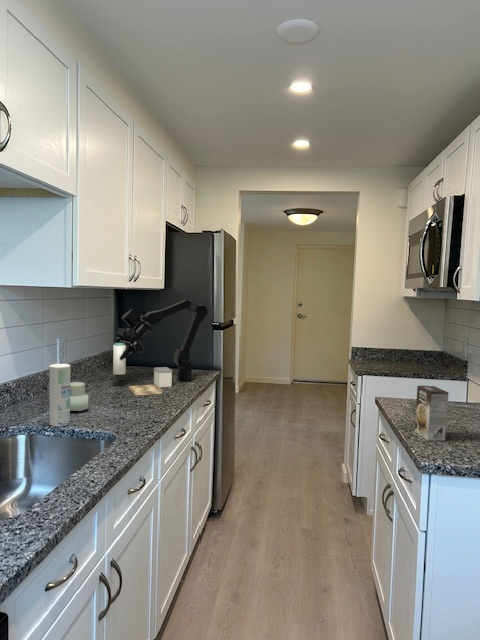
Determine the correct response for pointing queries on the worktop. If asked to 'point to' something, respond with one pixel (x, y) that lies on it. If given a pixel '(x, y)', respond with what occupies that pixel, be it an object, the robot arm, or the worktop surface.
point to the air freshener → (78, 397)
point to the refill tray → (145, 390)
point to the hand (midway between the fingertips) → (116, 358)
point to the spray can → (59, 394)
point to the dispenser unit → (162, 376)
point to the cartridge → (118, 364)
